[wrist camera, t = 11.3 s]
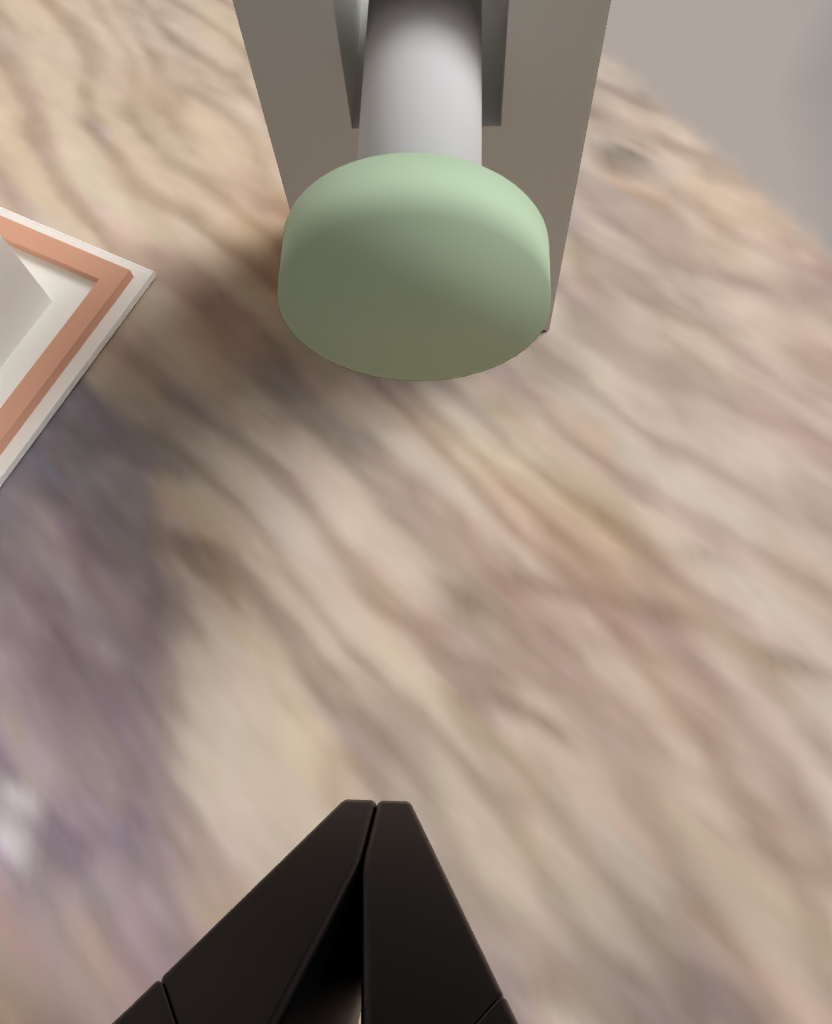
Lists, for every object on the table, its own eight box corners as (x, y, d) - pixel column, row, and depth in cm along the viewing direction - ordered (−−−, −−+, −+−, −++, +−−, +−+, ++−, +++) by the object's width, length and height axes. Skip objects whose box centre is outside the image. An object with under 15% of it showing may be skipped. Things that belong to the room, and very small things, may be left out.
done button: (537, 380, 13) (567, 212, 10) (304, 380, 14) (246, 215, 10) (528, 93, 16) (551, -131, 12) (330, 97, 16) (292, -122, 12)
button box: (548, 330, 21) (629, -97, 11) (322, 330, 21) (210, -84, 11) (544, 209, 22) (612, -261, 13) (333, 211, 23) (240, -245, 13)
